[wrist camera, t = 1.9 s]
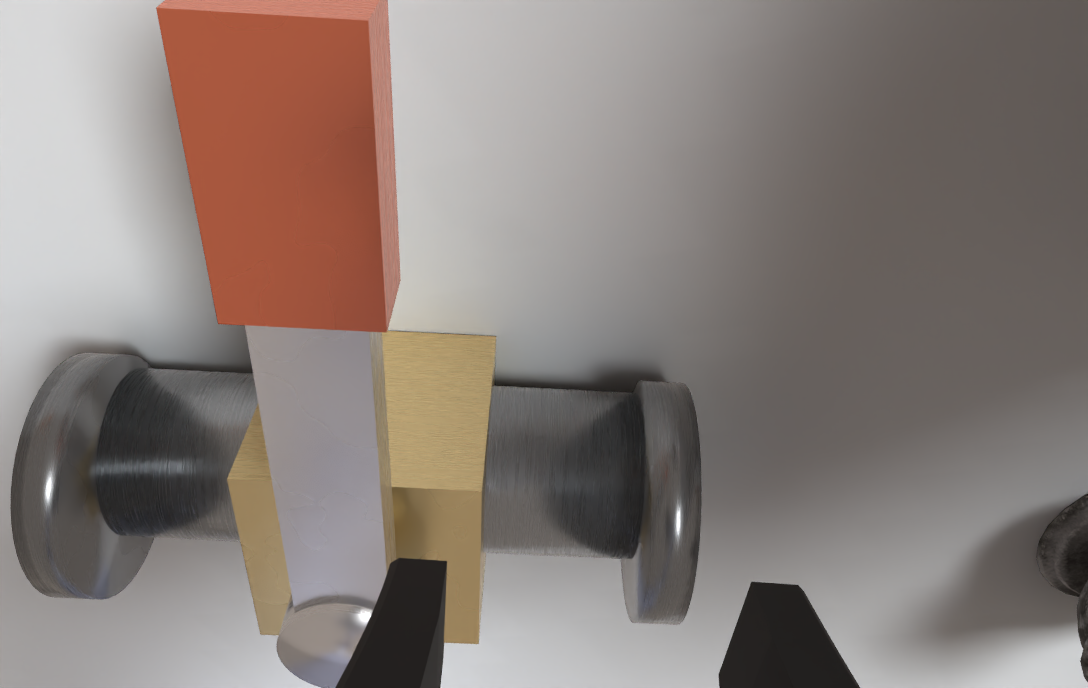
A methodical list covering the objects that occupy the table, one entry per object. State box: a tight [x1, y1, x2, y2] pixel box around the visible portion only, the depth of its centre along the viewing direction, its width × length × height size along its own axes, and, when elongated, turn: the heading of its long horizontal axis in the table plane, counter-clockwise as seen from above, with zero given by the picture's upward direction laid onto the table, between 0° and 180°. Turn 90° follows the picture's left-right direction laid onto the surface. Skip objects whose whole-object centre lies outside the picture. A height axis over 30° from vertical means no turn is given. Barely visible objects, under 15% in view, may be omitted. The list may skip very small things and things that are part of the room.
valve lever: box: [156, 0, 400, 688], centre depth 15 cm, size 14×3×1 cm, turn 177°
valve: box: [11, 331, 701, 644], centre depth 21 cm, size 14×6×6 cm, turn 87°
